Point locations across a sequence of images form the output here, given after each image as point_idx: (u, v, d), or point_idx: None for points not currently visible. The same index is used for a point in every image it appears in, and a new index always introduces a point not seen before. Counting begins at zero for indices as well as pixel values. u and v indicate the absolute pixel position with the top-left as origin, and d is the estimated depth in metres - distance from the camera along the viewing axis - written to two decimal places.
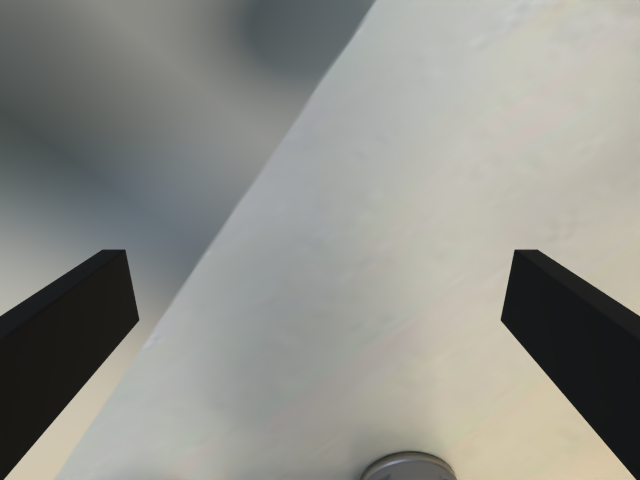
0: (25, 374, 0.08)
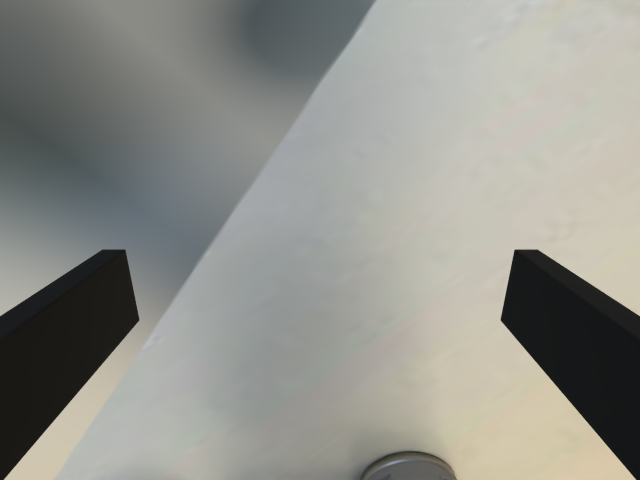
0: (25, 374, 0.08)
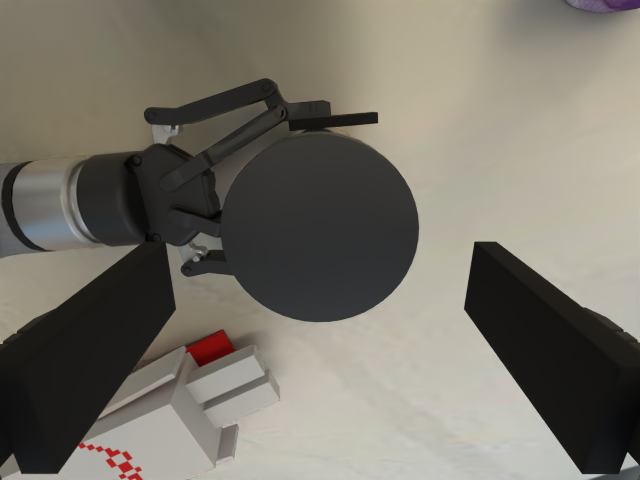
0: (92, 352, 0.09)
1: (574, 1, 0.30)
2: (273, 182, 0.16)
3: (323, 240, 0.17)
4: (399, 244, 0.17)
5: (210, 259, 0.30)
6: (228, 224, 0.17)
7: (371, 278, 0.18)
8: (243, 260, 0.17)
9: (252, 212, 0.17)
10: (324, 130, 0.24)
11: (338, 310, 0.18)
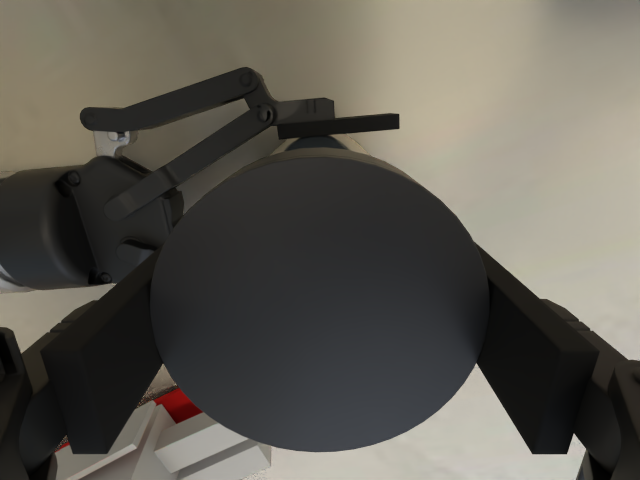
0: (133, 340, 0.09)
1: None
2: (237, 240, 0.09)
3: (326, 333, 0.10)
4: (454, 339, 0.10)
5: None
6: (162, 308, 0.10)
7: (405, 390, 0.11)
8: (191, 363, 0.10)
9: (202, 289, 0.10)
10: (326, 139, 0.17)
11: (350, 436, 0.11)
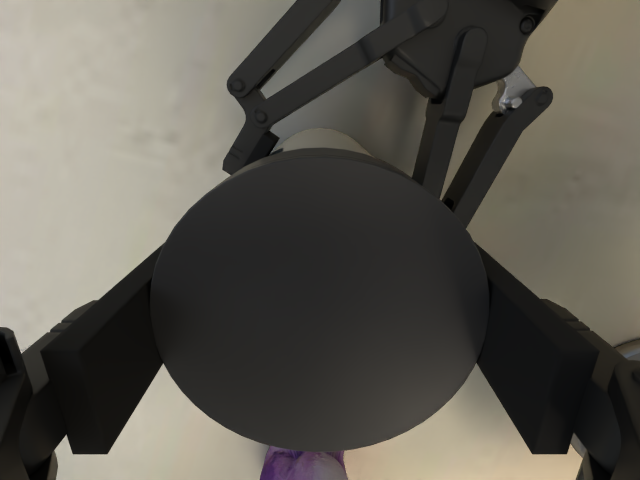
0: (133, 340, 0.09)
1: None
2: (237, 240, 0.09)
3: (326, 333, 0.10)
4: (454, 339, 0.10)
5: None
6: (162, 308, 0.10)
7: (405, 390, 0.11)
8: (191, 363, 0.10)
9: (203, 289, 0.10)
10: None
11: (349, 436, 0.11)
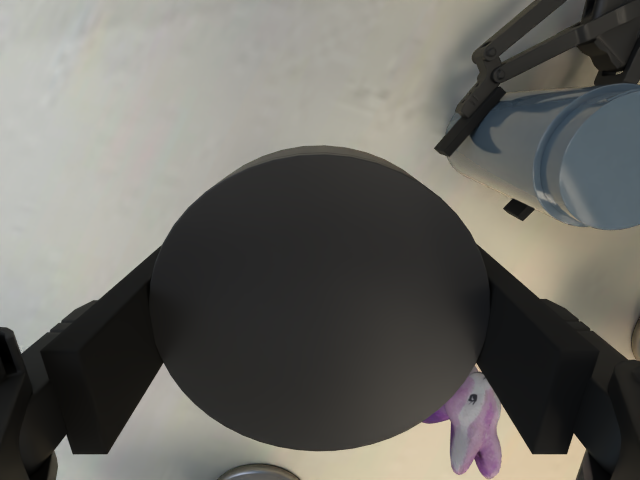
0: (133, 340, 0.09)
1: None
2: (237, 238, 0.09)
3: (326, 332, 0.10)
4: (455, 338, 0.10)
5: None
6: (162, 306, 0.10)
7: (405, 389, 0.11)
8: (191, 362, 0.10)
9: (202, 287, 0.10)
10: None
11: (349, 435, 0.11)
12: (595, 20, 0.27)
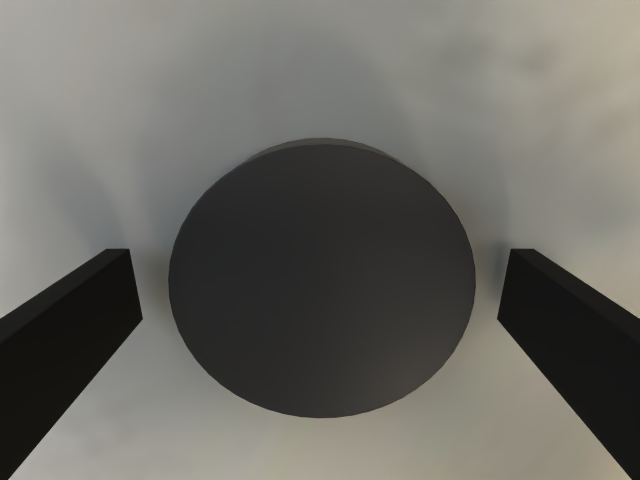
0: (32, 372, 0.08)
1: None
2: (248, 220, 0.10)
3: (327, 306, 0.11)
4: (444, 311, 0.11)
5: None
6: (180, 283, 0.11)
7: (400, 359, 0.12)
8: (206, 334, 0.11)
9: (217, 265, 0.11)
10: None
11: (349, 402, 0.12)
12: None
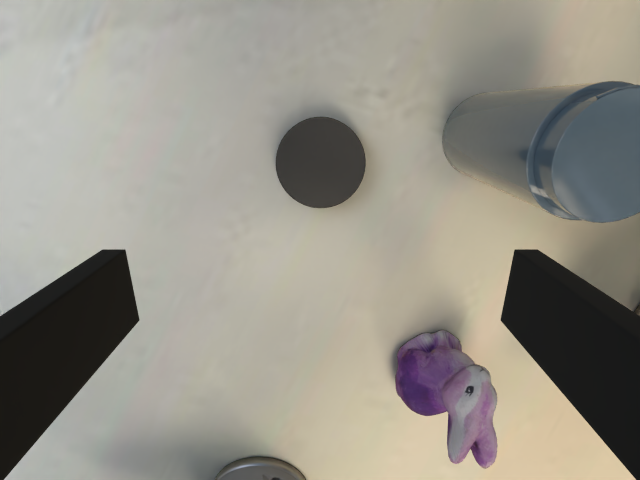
0: (25, 374, 0.08)
1: (425, 336, 0.46)
2: (300, 138, 0.37)
3: (322, 166, 0.38)
4: (356, 168, 0.38)
5: None
6: (279, 158, 0.37)
7: (344, 185, 0.38)
8: (285, 176, 0.38)
9: (290, 152, 0.37)
10: None
11: (329, 201, 0.39)
12: None
